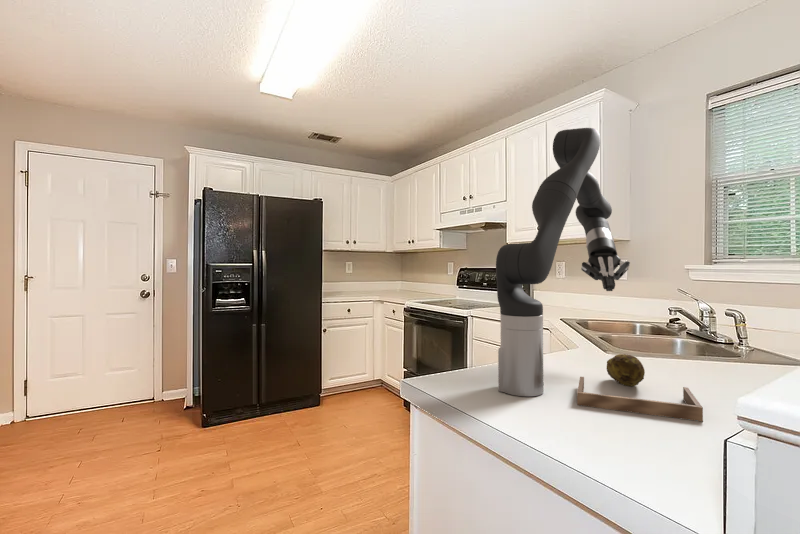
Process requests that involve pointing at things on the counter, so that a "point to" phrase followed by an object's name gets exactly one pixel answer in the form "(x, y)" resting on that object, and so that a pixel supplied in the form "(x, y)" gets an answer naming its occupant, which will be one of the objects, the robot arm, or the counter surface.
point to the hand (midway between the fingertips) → (610, 289)
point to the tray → (643, 404)
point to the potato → (625, 369)
